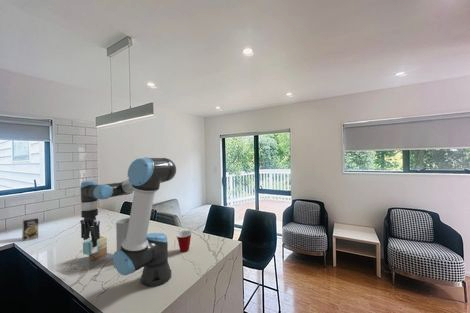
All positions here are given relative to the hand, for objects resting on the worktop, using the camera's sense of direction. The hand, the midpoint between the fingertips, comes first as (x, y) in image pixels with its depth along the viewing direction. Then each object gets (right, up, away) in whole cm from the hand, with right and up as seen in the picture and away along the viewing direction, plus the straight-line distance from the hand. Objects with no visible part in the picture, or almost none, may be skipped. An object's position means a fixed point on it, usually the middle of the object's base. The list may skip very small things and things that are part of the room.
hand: (90, 251), depth 116 cm
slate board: (-8, -14, +17) cm, 23 cm away
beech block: (-9, -6, +20) cm, 22 cm away
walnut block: (-9, -12, +19) cm, 25 cm away
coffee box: (-93, -17, +62) cm, 114 cm away
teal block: (0, 0, 0) cm, 0 cm away
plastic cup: (+44, -13, +30) cm, 55 cm away
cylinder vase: (+12, -13, +18) cm, 25 cm away
